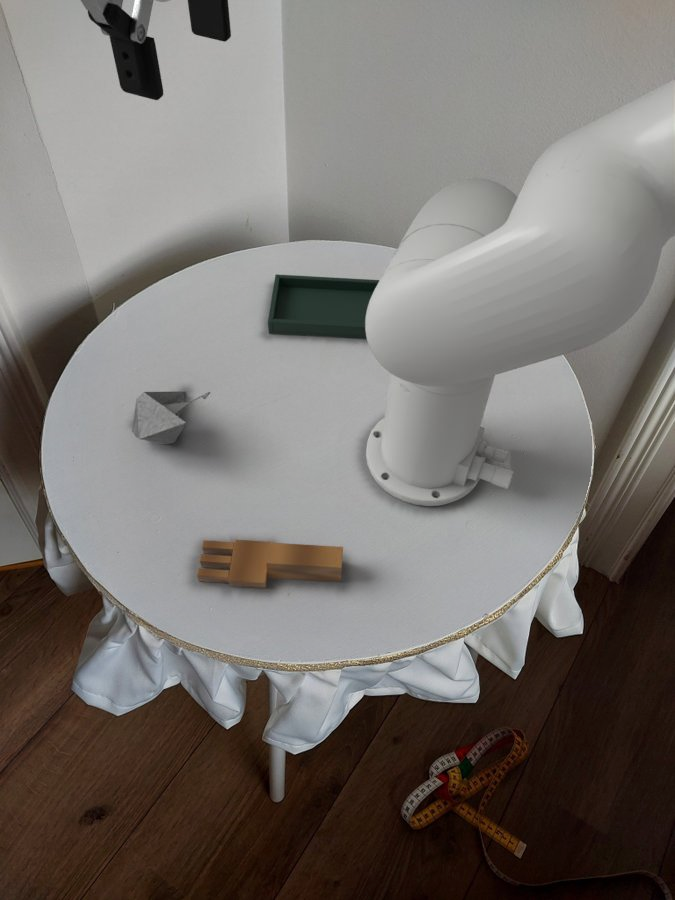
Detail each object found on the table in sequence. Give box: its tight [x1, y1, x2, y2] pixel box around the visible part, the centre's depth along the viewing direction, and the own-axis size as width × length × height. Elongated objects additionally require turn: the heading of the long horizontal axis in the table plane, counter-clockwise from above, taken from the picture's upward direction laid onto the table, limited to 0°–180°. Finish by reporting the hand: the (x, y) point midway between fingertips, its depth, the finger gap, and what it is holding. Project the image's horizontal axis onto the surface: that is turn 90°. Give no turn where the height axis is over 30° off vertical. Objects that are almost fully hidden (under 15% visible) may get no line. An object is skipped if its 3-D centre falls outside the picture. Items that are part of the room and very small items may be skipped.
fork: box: [196, 539, 344, 589], centre depth 68 cm, size 14×4×3 cm, turn 87°
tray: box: [267, 274, 380, 340], centre depth 90 cm, size 17×9×2 cm, turn 87°
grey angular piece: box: [131, 391, 211, 445], centre depth 77 cm, size 12×6×9 cm
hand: (178, 64), depth 54 cm, fingers open, 9 cm apart
